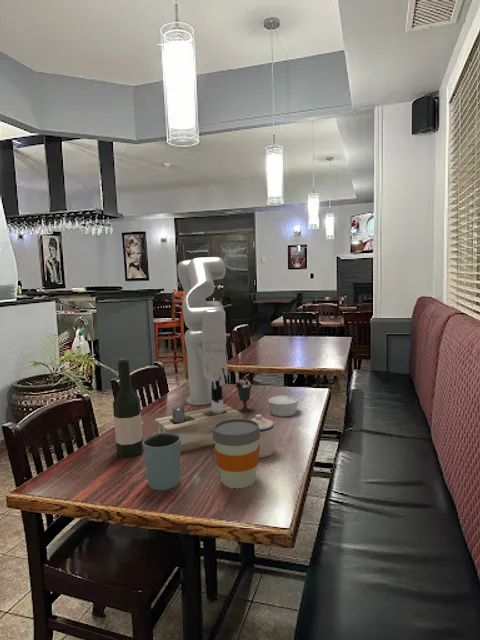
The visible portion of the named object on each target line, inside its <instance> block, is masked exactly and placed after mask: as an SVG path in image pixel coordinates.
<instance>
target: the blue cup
mask: <svg viewBox="0 0 480 640" xmlns="http://www.w3.org/2000/svg"><path fill="white" fill-rule="evenodd" d="M142 444H143V453H144V459H145V467H146V468H145V471H146V475H147V483H148V486H149V488H150V489H152V490H154V491H167V490H171V488H172V489H174V488H176V487H178V486H179V485H178V484H180V483H181V478H182V477H181V474H182V473H181V472H182V471H181V454H182V452H180V448H181V437H180V436H179V435H177V434H173V433H160V434H156V433H155V434H152V435H149V436H147V437H146V438H144V439H143V442H142Z"/></svg>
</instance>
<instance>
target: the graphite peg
mask: <svg viewBox="0 0 480 640" xmlns="http://www.w3.org/2000/svg"><path fill="white" fill-rule="evenodd" d="M185 411H186V410H185V407H184V406H174V407H172V408H171V413H172V414H171V416H172V418H173V424H179V423H183V422H185V413H186V412H185Z"/></svg>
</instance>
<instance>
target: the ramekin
mask: <svg viewBox="0 0 480 640" xmlns="http://www.w3.org/2000/svg"><path fill="white" fill-rule="evenodd" d="M267 403H268V405H269V409H270V410H269V411H270V413H271V414H272V415H274V416H276V417H291V416H293V415H295V414H296V411H297V408H298V403H299V400H298V398H296V397H294V396H291V395H276V396H272V397H269V399H267Z"/></svg>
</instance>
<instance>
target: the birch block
mask: <svg viewBox="0 0 480 640" xmlns="http://www.w3.org/2000/svg"><path fill="white" fill-rule="evenodd" d="M223 408H224V414H220V415H215V416H212V406H211V407H207V408H203V409H202V408H201V409H196V410H193V411H188V412H185V422H183V423H179V424H173V418H172V415H169V416H168V415H167V416H164V417H158V418H155V419H154V422H155V423H154V424H155V425H154V426H155V434H160V433H173V434H177V435H179V436H180V437H181V448H180V452H181V453H183V452H188V451H191V450H195V449H199V448H203V447H208V446H211V445H215V442H214V440H213V427H214V425H215V424H216V423H218V422H221V421H224V420H228V419H243V412H240V411H239V410H237V409H235V408H233V407H231V406H229V405H227V404H223Z"/></svg>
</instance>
